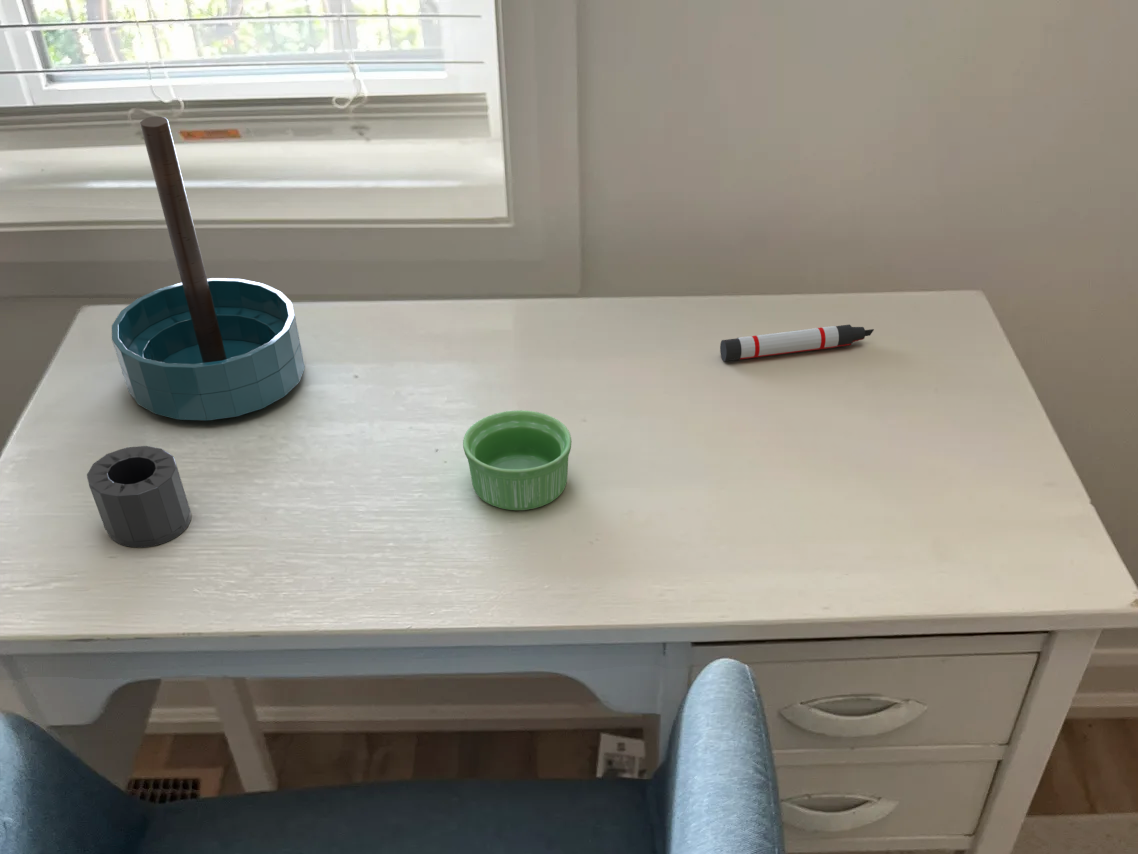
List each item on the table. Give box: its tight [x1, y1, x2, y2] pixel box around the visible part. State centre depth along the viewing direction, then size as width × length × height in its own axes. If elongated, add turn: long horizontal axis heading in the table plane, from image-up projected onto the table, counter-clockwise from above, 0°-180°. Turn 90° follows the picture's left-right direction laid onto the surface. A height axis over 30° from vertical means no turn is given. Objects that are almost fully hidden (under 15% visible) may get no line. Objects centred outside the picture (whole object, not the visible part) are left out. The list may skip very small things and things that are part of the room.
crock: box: [86, 445, 192, 548], centre depth 96 cm, size 7×7×5 cm
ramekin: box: [462, 409, 572, 511], centre depth 100 cm, size 9×9×4 cm
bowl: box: [111, 277, 306, 421], centre depth 111 cm, size 16×16×6 cm
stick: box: [139, 116, 227, 363], centre depth 104 cm, size 2×2×22 cm
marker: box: [719, 324, 875, 362], centre depth 115 cm, size 15×2×2 cm, turn 103°
